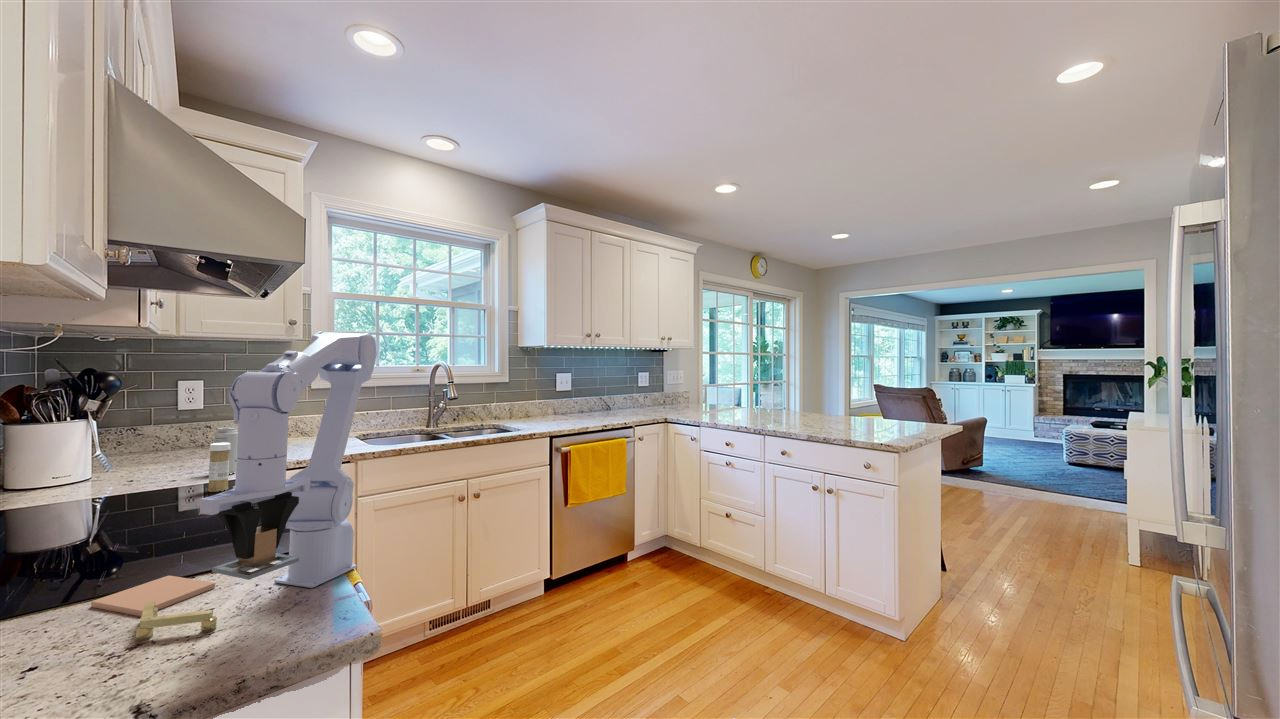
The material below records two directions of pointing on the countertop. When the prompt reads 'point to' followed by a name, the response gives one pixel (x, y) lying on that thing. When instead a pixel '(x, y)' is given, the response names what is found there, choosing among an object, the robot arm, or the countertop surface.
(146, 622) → the brass bent rod
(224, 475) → the sprinkles bottle
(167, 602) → the tile
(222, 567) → the grey window frame
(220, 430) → the energy drink can
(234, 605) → the countertop surface
